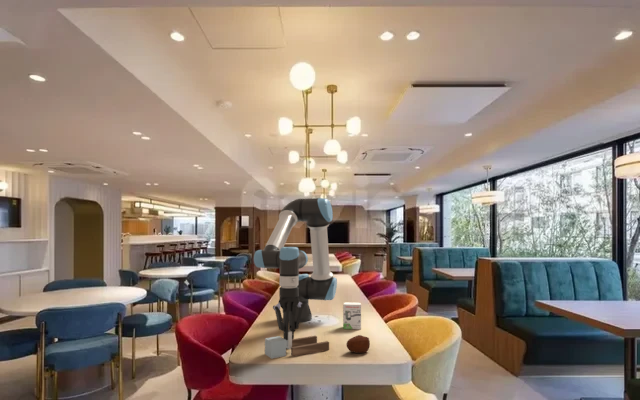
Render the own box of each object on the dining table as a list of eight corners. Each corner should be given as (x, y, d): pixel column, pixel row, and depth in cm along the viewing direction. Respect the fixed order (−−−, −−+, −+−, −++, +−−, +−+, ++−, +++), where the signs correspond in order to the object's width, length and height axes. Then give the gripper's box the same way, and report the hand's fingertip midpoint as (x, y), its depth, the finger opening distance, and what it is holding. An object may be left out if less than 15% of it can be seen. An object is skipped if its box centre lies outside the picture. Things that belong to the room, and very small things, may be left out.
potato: (372, 355, 150) (372, 337, 150) (347, 355, 149) (347, 338, 149) (368, 349, 157) (368, 333, 157) (344, 350, 156) (344, 333, 156)
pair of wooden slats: (280, 348, 157) (280, 341, 158) (315, 342, 165) (315, 335, 166) (292, 356, 148) (292, 348, 148) (329, 349, 156) (329, 342, 156)
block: (264, 354, 151) (265, 338, 151) (279, 351, 154) (279, 336, 154) (271, 358, 146) (271, 342, 146) (285, 356, 149) (286, 339, 149)
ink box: (343, 329, 188) (343, 304, 189) (343, 326, 193) (343, 302, 194) (361, 329, 188) (361, 304, 189) (360, 326, 193) (360, 302, 194)
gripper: (277, 289, 148) (277, 353, 147) (308, 286, 155) (308, 348, 153) (269, 286, 155) (269, 348, 153) (299, 284, 161) (299, 343, 160)
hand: (288, 348), depth 153 cm, fingers closed
